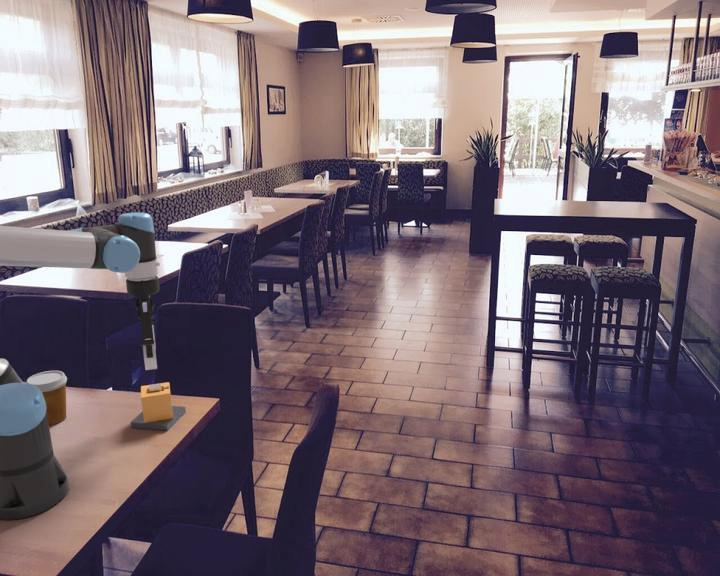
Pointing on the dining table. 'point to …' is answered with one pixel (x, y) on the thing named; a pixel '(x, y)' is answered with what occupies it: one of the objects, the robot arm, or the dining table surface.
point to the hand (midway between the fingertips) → (150, 358)
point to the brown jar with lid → (52, 393)
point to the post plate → (160, 424)
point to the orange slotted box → (156, 403)
